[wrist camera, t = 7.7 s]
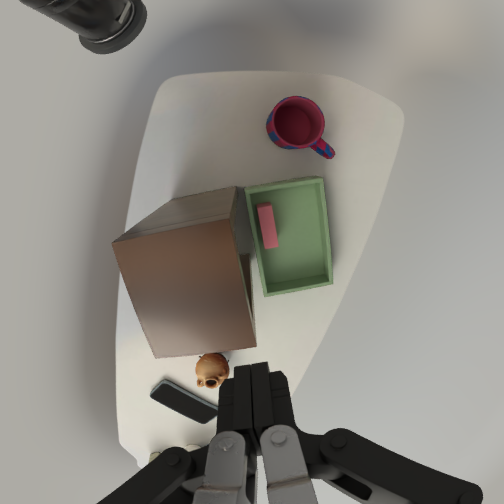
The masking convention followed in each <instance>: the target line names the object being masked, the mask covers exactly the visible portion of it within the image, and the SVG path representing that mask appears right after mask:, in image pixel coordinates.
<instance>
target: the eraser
mask: <svg viewBox="0 0 504 504" xmlns="http://www.w3.org/2000/svg"><path fill="white" fill-rule="evenodd" d="M256 206H257V211H258V216H259V222H260V227H261V232H262V238H263V243H264V247H265V249H269V248H274V247H279V245H278V239H277V233H276V227H275V221H274V216H273V210H272V205H271V203H270V202H265V203H260V204H256Z"/></svg>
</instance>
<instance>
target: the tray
mask: <svg viewBox="0 0 504 504" xmlns="http://www.w3.org/2000/svg"><path fill="white" fill-rule="evenodd" d="M244 192H245V197H246V202H247V208H248V213H249V218H250V224H251V229H252V234H253V240H254V245H255V250H256V256H257V261H258V267H259V272H260V277H261V283H262V288H263V293H264V297H268V296H274V295H279V294H285V293H290V292H295V291H301V290H306V289H311V288H316V287H321V286H326V285H331V284H333V272H332V259H331V247H330V236H329V226H328V217H327V208H326V199H325V191H324V184H323V178H322V177H319V176H311V177H304V178H297V179H291V180H284V181H278V182H272V183H266V184H260V185H255V186H249V187H244ZM265 202H270V203H271V205H272V210H273V216H274V221H275V227H276V233H277V239H278V245H279V247H274V248H269V249H265V247H264V243H263V238H262V232H261V227H260V222H259V216H258V211H257V206H256V204H260V203H265Z"/></svg>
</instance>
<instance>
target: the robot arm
mask: <svg viewBox="0 0 504 504" xmlns="http://www.w3.org/2000/svg"><path fill="white" fill-rule="evenodd" d="M20 2H22V3H23V4H25V5H27V6H29V7H31V8H33V9H35V10H36V11H38V12H40V13H42V14H44V15H46V16H48V17H50V18H52V19H53V20H55V21H57V22H59V23H61V24H63V25H64V26H66V27H68V28H69V29H71V30H73V31H74V32H76V33H78V34H79V35H81V36H83V37H84V38H85V39H86V40H88V41H90V42H91V43H94V44H103V43H107V42H110V41H112V40H114V39H116V38H117V37H119V36H120V35H121V34H123V33H124V32H125V31H126V30H127V29H128V27H129V26H130V25H131V23H132V21H133V19H134V17H135V6H134V4H133V2H132V1H131V0H20ZM218 405H219V406H218V415H217V430H216V435H215V436H214V437H213V438H212V440H211V441H210V443H209V444H208V445H206V446H204V447H202V448H199V449H196V450H192V451H189V452H188V451H187V450H185V449H184V448H181V447H171V448H168V449H166V450H164V451H163V452H162V453H161V454H159V455H158V456H157V457H156V458H155V459H153V460H152V461H151V462H150V463H149V464H147V465H146V466H145V467H144V468H143V469H141V470H140V471H139V472H138V473H136V474H135V475H134V476H133V477H132V478H130V479H129V480H128V481H126V482H125V483H124V484H123V485H121V486H120V487H119V488H117V489H116V490H115V491H113V492H112V493H111V494H109V495H108V496H107V497H105V498H104V499H103V500H101V501H100V502H98V503H97V504H257V479H258V469H257V456H261V455H262V456H263V462H264V468H265V474H266V479H267V494H268V500H269V504H318V501H317V498H316V495H315V491H314V488H313V484H312V481H311V479H322V480H323V481H325V482H326V483H328V484H329V485H331V486H332V487H334V488H336V489H337V490H339V491H341V492H342V493H344V494H346V495H348V496H349V497H351V498H353V499H355V500H356V501H358V502H360V503H362V504H481V503H482V500H483V493H482V490H481V488H480V487H479V486H478V485H476V484H474V483H471V482H468V481H465V480H462V479H459V478H456V477H453V476H450V475H447V474H445V473H442V472H439V471H437V470H434V469H432V468H429V467H427V466H424V465H422V464H419V463H417V462H415V461H412V460H410V459H408V458H406V457H403V456H401V455H399V454H397V453H395V452H392V451H390V450H388V449H386V448H384V447H382V446H380V445H378V444H376V443H374V442H372V441H370V440H368V439H366V438H364V437H362V436H360V435H358V434H356V433H354V432H352V431H350V430H348V429H344V428H337V429H333V430H330V431H328V432H327V433H326V434H324V435H314V434H308V433H305V432H303V431H301V430H300V429H299V428H298V427H297V426H296V424H295V420H294V414H293V409H292V403H291V398H290V392H289V387H288V381H287V377H286V376H285V375H284V374H283V373H282V371H276V372H270V371H269V366H268V362H261V363H255V364H251V365H250V364H249V365H242V366H235V367H234V378H229V379H224V381H223V382H222V384H221V386H220V388H219V400H218Z"/></svg>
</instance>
